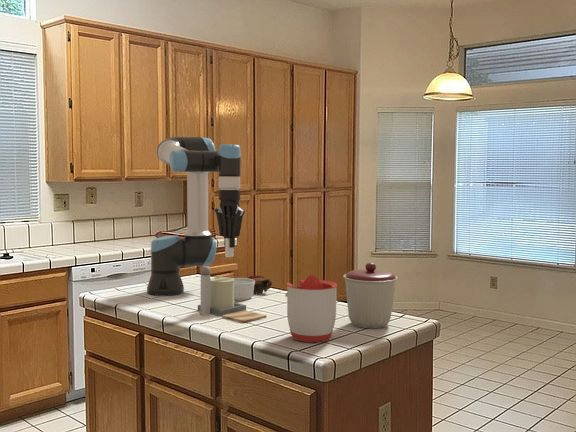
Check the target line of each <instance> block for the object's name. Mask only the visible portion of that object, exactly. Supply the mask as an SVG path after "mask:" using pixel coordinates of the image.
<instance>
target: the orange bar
mask: <svg viewBox="0 0 576 432" xmlns="http://www.w3.org/2000/svg"><path fill="white" fill-rule="evenodd" d="M235 270H239V264H238V263H228V264H221V265H215V266H210V265H204V266H200V275H208V274H209V275H211V274H218V273H222V272H223V273H224V272H228V271H229V272H230V271H235Z"/></svg>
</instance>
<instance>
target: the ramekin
mask: <svg viewBox="0 0 576 432" xmlns="http://www.w3.org/2000/svg"><path fill="white" fill-rule="evenodd" d="M232 278H233V279H234V301H246V300H251V298H252V297H253V295H254V294H253V291H254V285H255V281H254V280H253V279H248V277H232Z"/></svg>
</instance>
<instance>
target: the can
mask: <svg viewBox="0 0 576 432" xmlns="http://www.w3.org/2000/svg"><path fill="white" fill-rule="evenodd" d="M233 278H234V277H227V276H226V277H225V276H223V277H222V276H221V277H213V278H212V277H211V278H210V307H211V308H216V309H220V310H222V309H227V308H231V307H234V302H235V300H234V279H233Z"/></svg>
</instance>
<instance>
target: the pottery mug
mask: <svg viewBox="0 0 576 432" xmlns="http://www.w3.org/2000/svg"><path fill="white" fill-rule="evenodd" d="M247 278H248V279H253V280H254V281H255V285H254V291H253V295H254V294H255V295H263V294H264V292H265V293H267V292H268V290H270V288H271V287H272V285H273V283H272V280H271V279H266V278H265V276H262V275H251V276H249V277H247Z"/></svg>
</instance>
